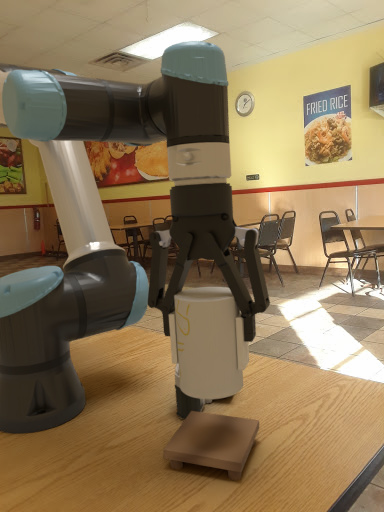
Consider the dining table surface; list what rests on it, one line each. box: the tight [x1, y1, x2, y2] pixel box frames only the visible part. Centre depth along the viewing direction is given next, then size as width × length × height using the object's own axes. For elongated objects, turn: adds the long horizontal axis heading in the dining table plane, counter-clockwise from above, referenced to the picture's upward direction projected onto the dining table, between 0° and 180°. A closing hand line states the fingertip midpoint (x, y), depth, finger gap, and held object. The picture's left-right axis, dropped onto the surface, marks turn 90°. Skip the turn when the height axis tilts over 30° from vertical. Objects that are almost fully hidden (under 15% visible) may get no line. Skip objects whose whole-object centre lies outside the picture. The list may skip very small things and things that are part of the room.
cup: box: [174, 286, 244, 400], centre depth 55 cm, size 8×8×12 cm
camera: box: [174, 363, 233, 420], centre depth 74 cm, size 16×9×10 cm, turn 167°
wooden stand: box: [162, 411, 260, 481], centre depth 58 cm, size 10×10×3 cm
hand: (210, 362), depth 56 cm, fingers closed on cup, 8 cm apart
